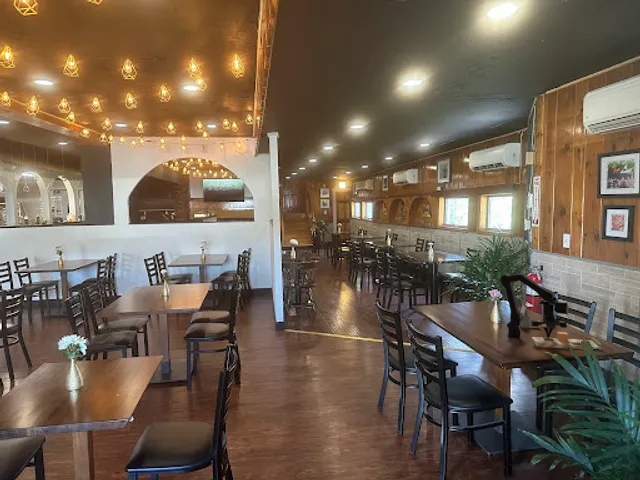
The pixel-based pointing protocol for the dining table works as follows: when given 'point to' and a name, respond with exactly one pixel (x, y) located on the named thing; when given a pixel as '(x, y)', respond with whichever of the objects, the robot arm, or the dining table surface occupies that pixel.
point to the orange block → (562, 336)
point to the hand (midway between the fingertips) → (548, 337)
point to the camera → (526, 318)
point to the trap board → (563, 343)
